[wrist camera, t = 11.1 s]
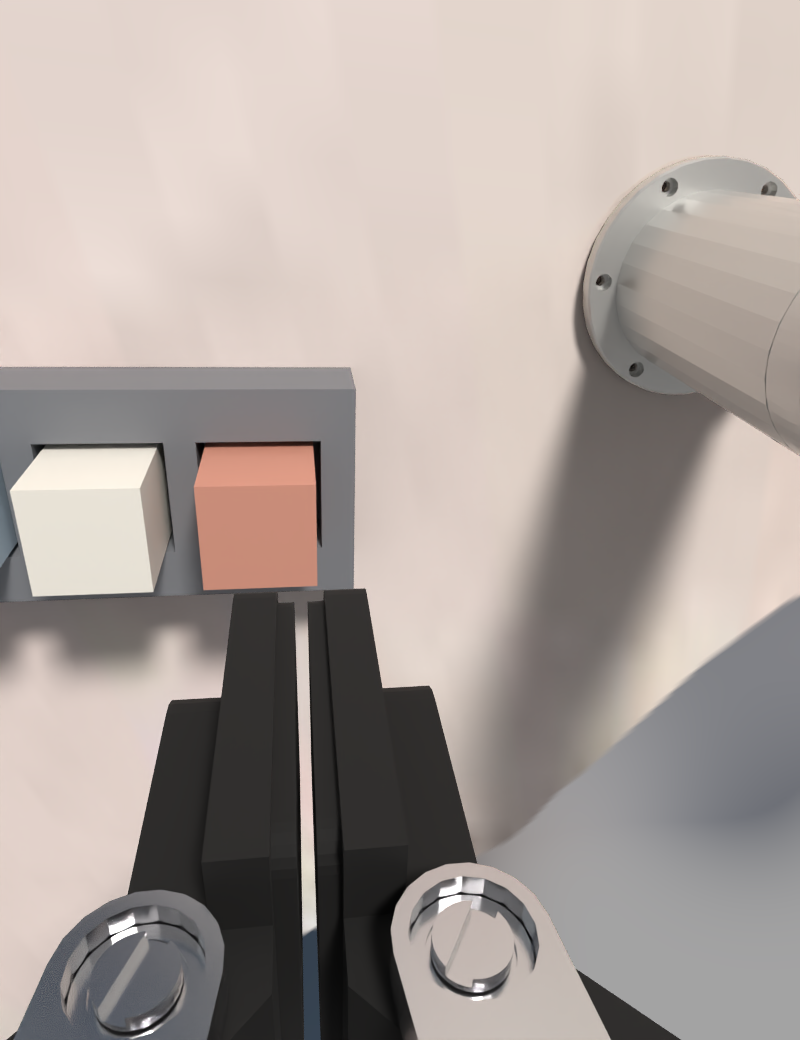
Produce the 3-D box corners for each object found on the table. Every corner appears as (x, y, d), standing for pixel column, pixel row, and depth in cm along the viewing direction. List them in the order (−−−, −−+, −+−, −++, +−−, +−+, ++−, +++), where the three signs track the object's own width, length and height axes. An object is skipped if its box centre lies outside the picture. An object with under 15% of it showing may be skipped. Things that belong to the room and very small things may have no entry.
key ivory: (161, 437, 40) (139, 488, 34) (171, 530, 42) (153, 592, 37) (50, 438, 39) (9, 490, 33) (68, 533, 42) (32, 596, 36)
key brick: (312, 435, 41) (315, 484, 35) (313, 526, 44) (317, 585, 38) (207, 436, 40) (193, 487, 35) (215, 529, 43) (203, 590, 37)
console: (350, 367, 42) (355, 389, 38) (348, 554, 47) (353, 588, 44) (-159, 367, 38) (-204, 390, 35) (-97, 568, 44) (-131, 607, 40)
